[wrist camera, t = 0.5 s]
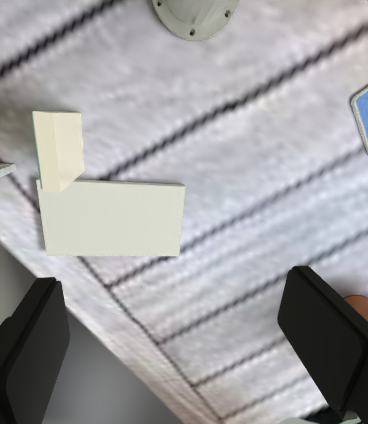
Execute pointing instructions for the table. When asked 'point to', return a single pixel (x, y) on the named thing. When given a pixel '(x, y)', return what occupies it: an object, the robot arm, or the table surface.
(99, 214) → the white rectangular board
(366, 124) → the tablet computer
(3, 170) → the beige upright post
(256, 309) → the table surface
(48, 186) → the tile
